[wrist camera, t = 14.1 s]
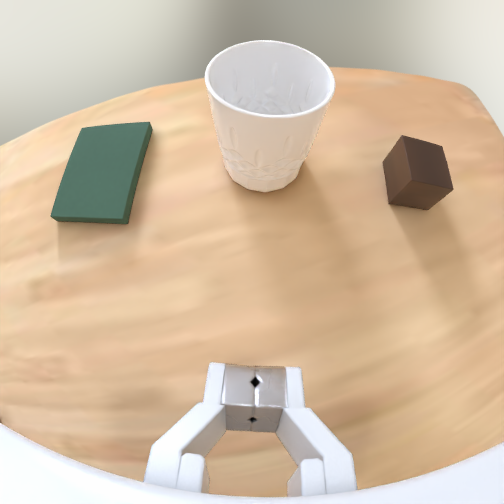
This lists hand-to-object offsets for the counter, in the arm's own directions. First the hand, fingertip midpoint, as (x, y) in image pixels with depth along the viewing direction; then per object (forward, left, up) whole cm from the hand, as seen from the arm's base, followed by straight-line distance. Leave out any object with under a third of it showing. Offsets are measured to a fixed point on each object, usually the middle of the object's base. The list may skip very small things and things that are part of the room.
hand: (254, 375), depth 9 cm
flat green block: (-15, +14, -12) cm, 23 cm away
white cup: (0, +16, -12) cm, 20 cm away
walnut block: (+14, +15, -12) cm, 23 cm away
